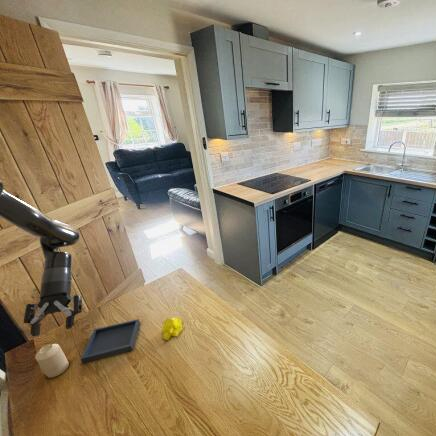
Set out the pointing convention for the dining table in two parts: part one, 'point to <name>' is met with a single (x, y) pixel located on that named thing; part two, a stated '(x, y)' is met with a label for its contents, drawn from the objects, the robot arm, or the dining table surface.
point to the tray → (111, 341)
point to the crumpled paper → (171, 328)
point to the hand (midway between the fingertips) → (52, 332)
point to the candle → (52, 360)
